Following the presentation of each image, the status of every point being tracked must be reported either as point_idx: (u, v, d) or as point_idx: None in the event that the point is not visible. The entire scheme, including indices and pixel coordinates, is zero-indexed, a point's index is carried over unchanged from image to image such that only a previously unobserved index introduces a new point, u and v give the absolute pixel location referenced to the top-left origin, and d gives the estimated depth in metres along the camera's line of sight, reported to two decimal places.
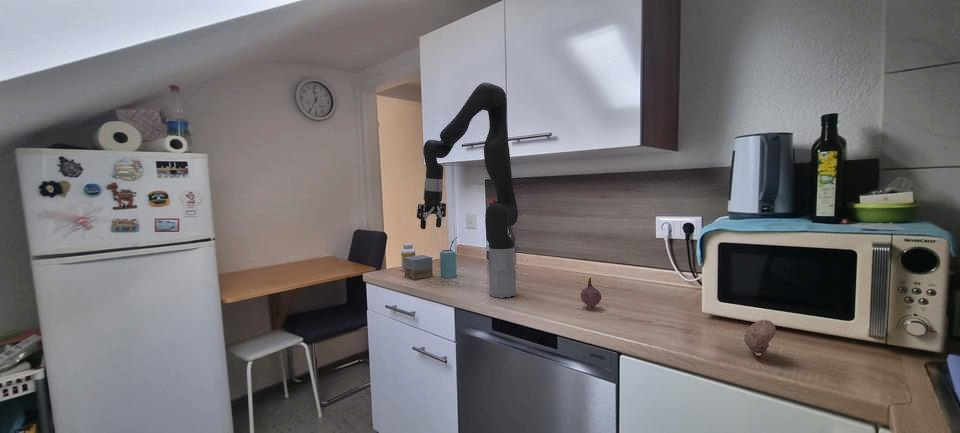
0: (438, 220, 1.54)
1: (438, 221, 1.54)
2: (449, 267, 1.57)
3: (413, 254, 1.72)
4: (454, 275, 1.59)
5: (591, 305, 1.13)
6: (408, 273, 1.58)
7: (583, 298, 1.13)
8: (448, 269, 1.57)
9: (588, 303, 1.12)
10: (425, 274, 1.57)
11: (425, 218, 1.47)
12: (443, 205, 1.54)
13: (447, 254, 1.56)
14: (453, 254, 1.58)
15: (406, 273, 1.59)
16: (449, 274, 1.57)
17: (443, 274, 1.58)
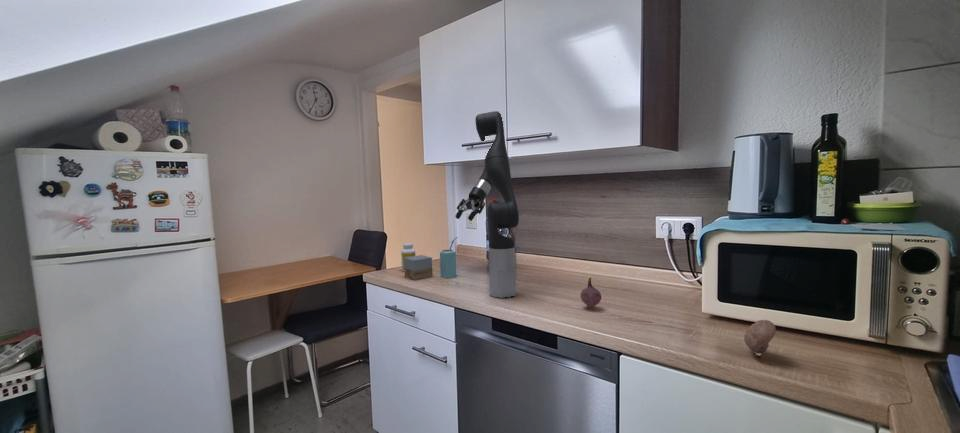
0: None
1: None
2: (449, 267, 1.57)
3: (413, 254, 1.72)
4: (454, 275, 1.59)
5: (591, 305, 1.13)
6: (408, 273, 1.58)
7: (583, 298, 1.13)
8: (448, 269, 1.57)
9: (588, 303, 1.12)
10: (425, 274, 1.57)
11: (459, 208, 1.68)
12: None
13: (447, 254, 1.56)
14: (453, 254, 1.58)
15: (406, 273, 1.59)
16: (449, 274, 1.57)
17: (443, 274, 1.58)
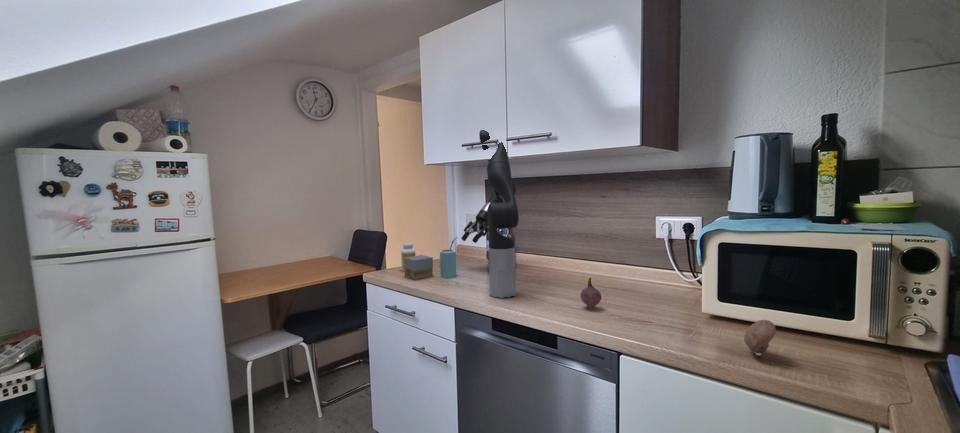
0: None
1: None
2: (449, 267, 1.57)
3: (413, 254, 1.72)
4: (454, 275, 1.59)
5: (591, 305, 1.13)
6: (408, 273, 1.58)
7: (583, 298, 1.13)
8: (448, 269, 1.57)
9: (588, 303, 1.12)
10: (425, 274, 1.58)
11: (466, 230, 1.70)
12: None
13: (447, 254, 1.56)
14: (453, 254, 1.58)
15: (407, 273, 1.59)
16: (449, 274, 1.57)
17: (443, 274, 1.58)
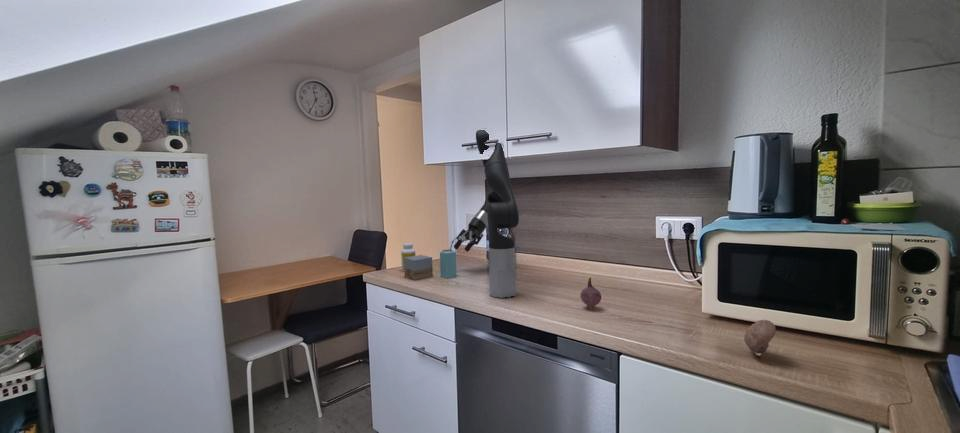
0: None
1: None
2: (449, 267, 1.57)
3: (413, 254, 1.72)
4: (454, 275, 1.59)
5: (591, 305, 1.13)
6: (408, 273, 1.58)
7: (583, 298, 1.13)
8: (448, 269, 1.57)
9: (588, 303, 1.12)
10: (425, 274, 1.57)
11: (458, 238, 1.68)
12: None
13: (447, 254, 1.56)
14: (453, 254, 1.58)
15: (407, 273, 1.59)
16: (449, 274, 1.57)
17: (443, 274, 1.58)
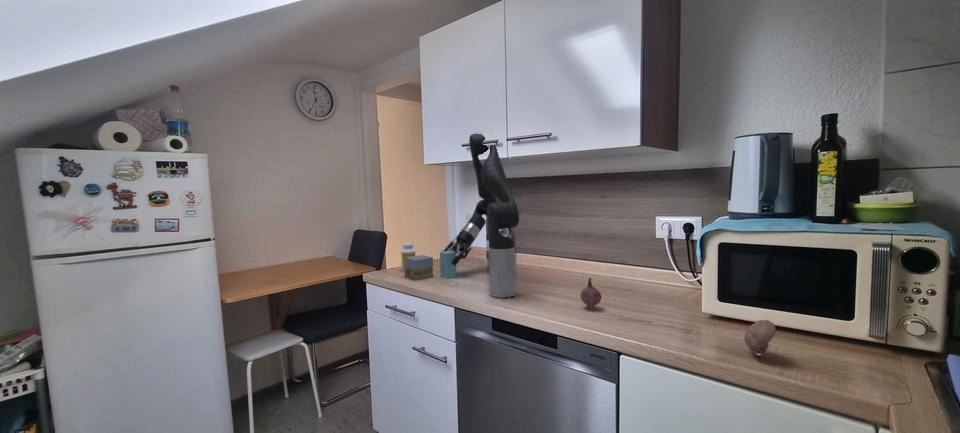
0: None
1: None
2: (449, 267, 1.57)
3: (413, 254, 1.72)
4: (454, 275, 1.59)
5: (591, 305, 1.13)
6: (408, 273, 1.58)
7: (583, 298, 1.13)
8: (448, 269, 1.57)
9: (588, 303, 1.12)
10: (425, 274, 1.57)
11: None
12: None
13: (447, 254, 1.56)
14: (453, 254, 1.58)
15: (407, 273, 1.59)
16: (449, 274, 1.57)
17: (443, 274, 1.58)
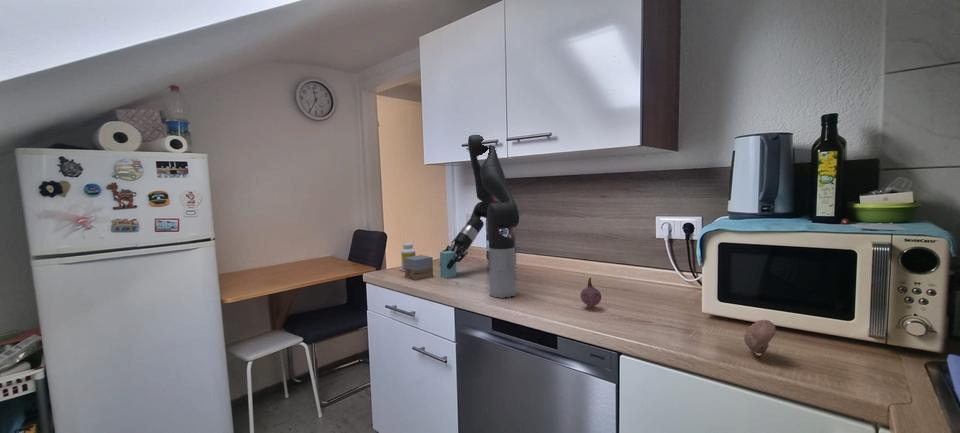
0: None
1: None
2: None
3: (413, 254, 1.72)
4: (454, 275, 1.59)
5: (591, 305, 1.13)
6: (409, 273, 1.58)
7: (583, 298, 1.13)
8: (448, 269, 1.57)
9: (588, 303, 1.12)
10: (425, 274, 1.57)
11: None
12: None
13: (447, 254, 1.56)
14: (453, 254, 1.58)
15: (407, 273, 1.59)
16: (450, 274, 1.57)
17: (443, 274, 1.58)
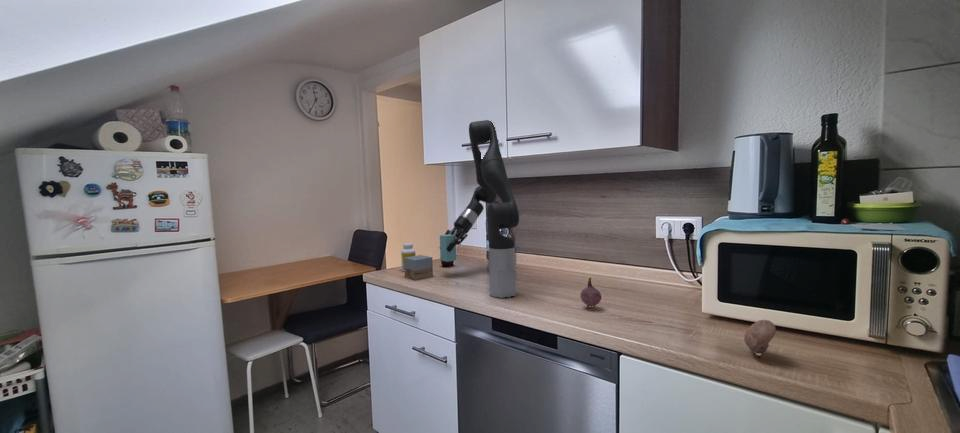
0: None
1: None
2: None
3: (413, 254, 1.72)
4: (454, 258, 1.58)
5: (591, 305, 1.13)
6: (408, 273, 1.58)
7: (583, 298, 1.13)
8: (448, 252, 1.56)
9: (588, 303, 1.12)
10: (425, 274, 1.57)
11: None
12: None
13: (447, 237, 1.55)
14: None
15: (407, 273, 1.59)
16: (449, 257, 1.57)
17: (443, 257, 1.57)
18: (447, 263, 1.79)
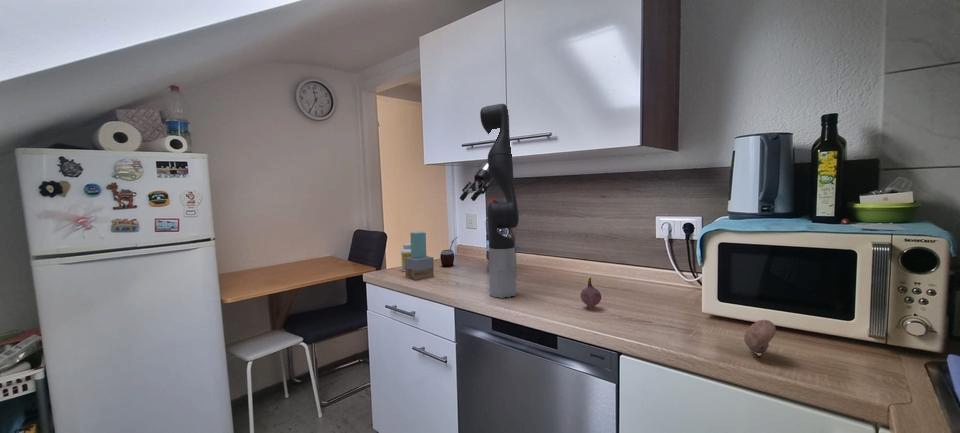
0: None
1: None
2: (418, 247, 1.57)
3: None
4: (424, 256, 1.59)
5: (591, 305, 1.13)
6: (409, 273, 1.58)
7: (583, 298, 1.13)
8: (417, 249, 1.57)
9: (588, 303, 1.12)
10: (426, 274, 1.57)
11: (464, 190, 1.66)
12: None
13: (416, 234, 1.56)
14: (423, 234, 1.58)
15: (407, 273, 1.59)
16: (419, 254, 1.57)
17: (413, 254, 1.58)
18: (447, 263, 1.79)
